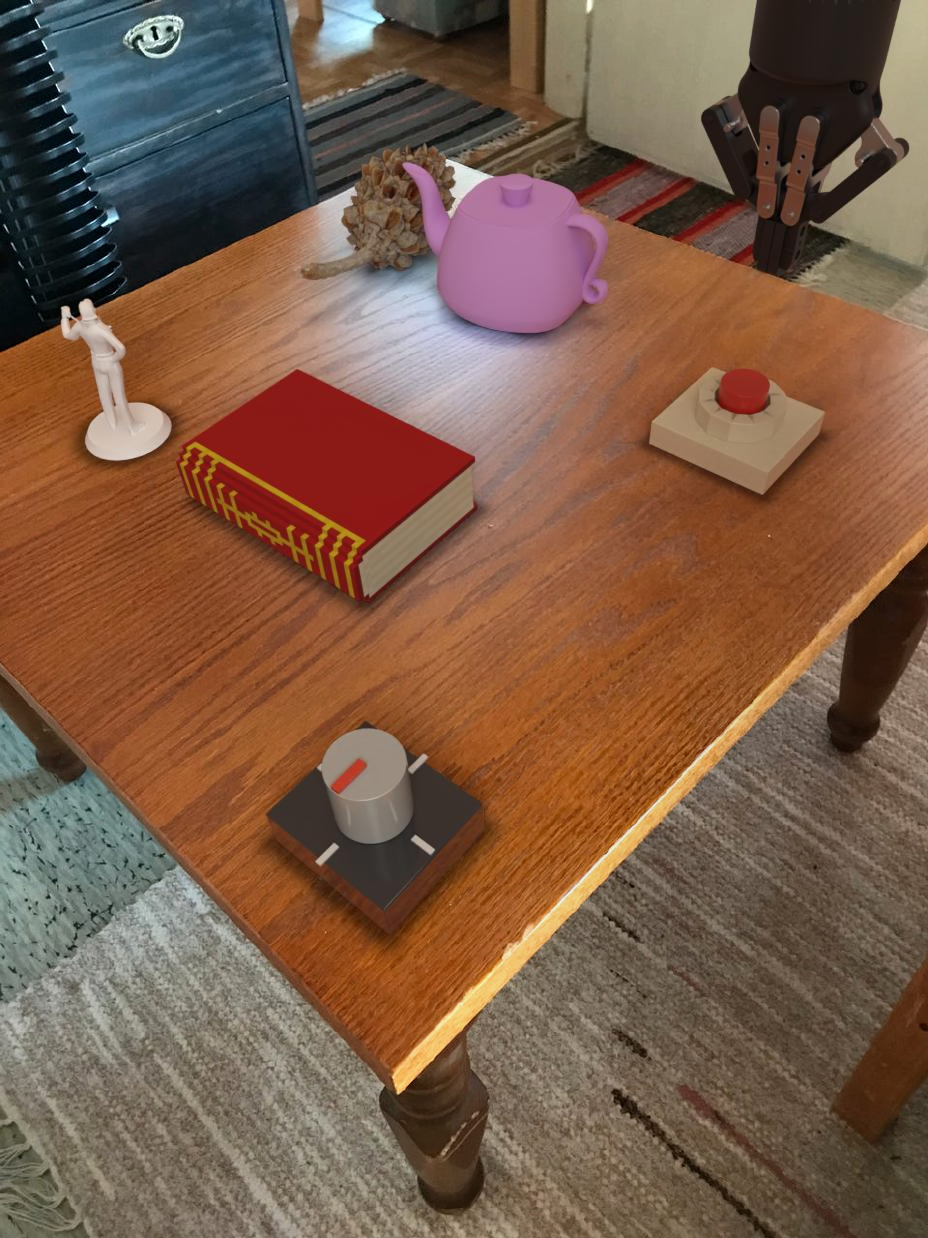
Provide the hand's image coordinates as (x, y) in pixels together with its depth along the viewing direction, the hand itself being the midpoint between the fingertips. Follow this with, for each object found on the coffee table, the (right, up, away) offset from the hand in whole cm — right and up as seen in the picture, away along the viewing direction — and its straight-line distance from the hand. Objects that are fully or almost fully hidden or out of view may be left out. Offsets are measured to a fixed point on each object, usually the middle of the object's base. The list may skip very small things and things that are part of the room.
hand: (774, 268), depth 65 cm
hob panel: (-25, -36, -9) cm, 45 cm away
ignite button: (0, -7, +10) cm, 12 cm away
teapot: (-17, +6, +27) cm, 32 cm away
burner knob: (-26, -34, -12) cm, 44 cm away
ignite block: (+1, -9, +12) cm, 15 cm away
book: (-31, -15, +9) cm, 35 cm away
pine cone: (-29, +11, +31) cm, 44 cm away
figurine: (-49, -8, +16) cm, 52 cm away
